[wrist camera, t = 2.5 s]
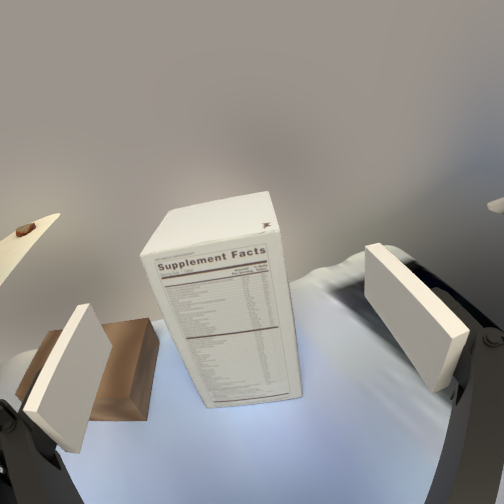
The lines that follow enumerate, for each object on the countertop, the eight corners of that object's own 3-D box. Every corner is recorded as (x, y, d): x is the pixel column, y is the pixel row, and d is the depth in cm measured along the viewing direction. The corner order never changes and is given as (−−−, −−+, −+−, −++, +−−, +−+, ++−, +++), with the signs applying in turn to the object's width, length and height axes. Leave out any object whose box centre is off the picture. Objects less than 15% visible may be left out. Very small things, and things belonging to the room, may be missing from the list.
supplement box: (292, 334, 33) (273, 188, 26) (305, 398, 25) (287, 227, 17) (210, 345, 34) (167, 207, 26) (203, 410, 25) (134, 253, 18)
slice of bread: (22, 229, 123) (20, 223, 122) (45, 221, 124) (42, 215, 122) (4, 243, 107) (1, 236, 106) (27, 235, 108) (24, 228, 106)
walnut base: (34, 415, 24) (15, 394, 22) (62, 352, 35) (49, 331, 33) (146, 420, 24) (129, 397, 23) (159, 342, 35) (148, 317, 34)
